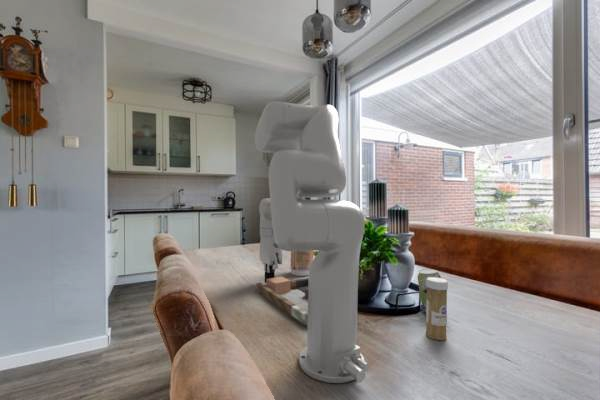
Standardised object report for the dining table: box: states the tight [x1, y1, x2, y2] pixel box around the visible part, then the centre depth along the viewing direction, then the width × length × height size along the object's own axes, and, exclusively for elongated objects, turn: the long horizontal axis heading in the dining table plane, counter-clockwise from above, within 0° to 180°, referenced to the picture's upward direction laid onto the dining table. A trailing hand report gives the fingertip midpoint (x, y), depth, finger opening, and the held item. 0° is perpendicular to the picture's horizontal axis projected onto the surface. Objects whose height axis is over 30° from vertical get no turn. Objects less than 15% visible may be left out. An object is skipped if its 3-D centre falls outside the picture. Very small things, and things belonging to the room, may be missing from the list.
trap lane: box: [255, 277, 309, 328], centre depth 89 cm, size 32×22×3 cm
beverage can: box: [417, 269, 442, 313], centre depth 80 cm, size 6×7×12 cm
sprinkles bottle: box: [425, 277, 449, 341], centre depth 66 cm, size 5×5×14 cm
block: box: [265, 276, 291, 295], centre depth 97 cm, size 6×6×4 cm
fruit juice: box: [290, 250, 314, 277], centre depth 119 cm, size 9×9×28 cm
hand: (269, 282), depth 103 cm, fingers closed
